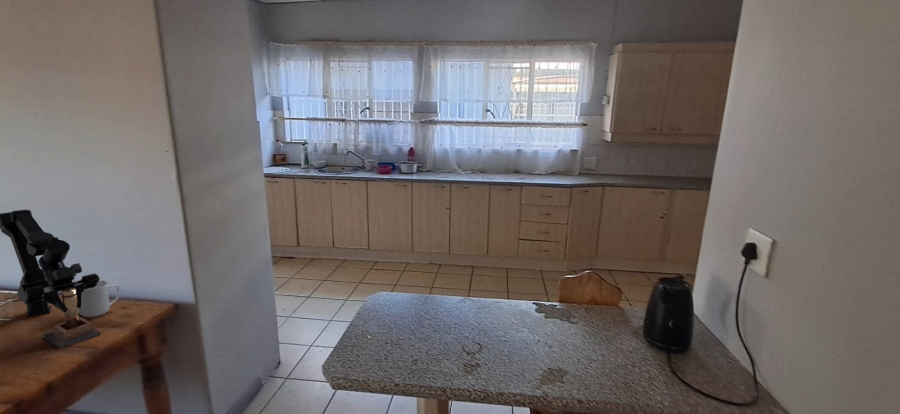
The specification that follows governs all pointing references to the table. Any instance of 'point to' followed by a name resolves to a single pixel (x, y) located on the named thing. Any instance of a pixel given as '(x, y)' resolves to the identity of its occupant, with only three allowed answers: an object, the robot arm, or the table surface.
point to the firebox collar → (71, 334)
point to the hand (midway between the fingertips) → (72, 309)
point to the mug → (96, 300)
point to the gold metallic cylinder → (71, 308)
